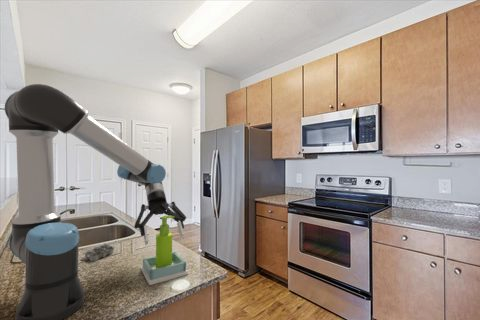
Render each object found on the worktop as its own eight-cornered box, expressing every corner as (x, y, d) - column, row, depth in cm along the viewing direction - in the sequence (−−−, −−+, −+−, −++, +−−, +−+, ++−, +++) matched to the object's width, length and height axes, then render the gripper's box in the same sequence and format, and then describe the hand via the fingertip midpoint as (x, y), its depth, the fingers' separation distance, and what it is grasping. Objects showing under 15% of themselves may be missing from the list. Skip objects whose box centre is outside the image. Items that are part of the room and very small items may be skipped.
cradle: (149, 285, 78) (149, 273, 78) (140, 269, 90) (141, 258, 90) (188, 274, 86) (188, 263, 86) (175, 260, 98) (175, 250, 98)
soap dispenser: (177, 267, 89) (177, 216, 89) (160, 273, 84) (161, 219, 84) (169, 262, 93) (169, 213, 93) (153, 268, 88) (153, 216, 88)
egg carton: (92, 263, 95) (92, 253, 95) (81, 259, 99) (81, 249, 99) (116, 253, 105) (116, 244, 105) (105, 250, 108) (105, 241, 108)
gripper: (181, 198, 110) (192, 238, 98) (123, 203, 96) (128, 250, 84) (185, 188, 106) (198, 229, 93) (125, 192, 92) (131, 240, 79)
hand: (165, 239), depth 88 cm, fingers open, 13 cm apart
